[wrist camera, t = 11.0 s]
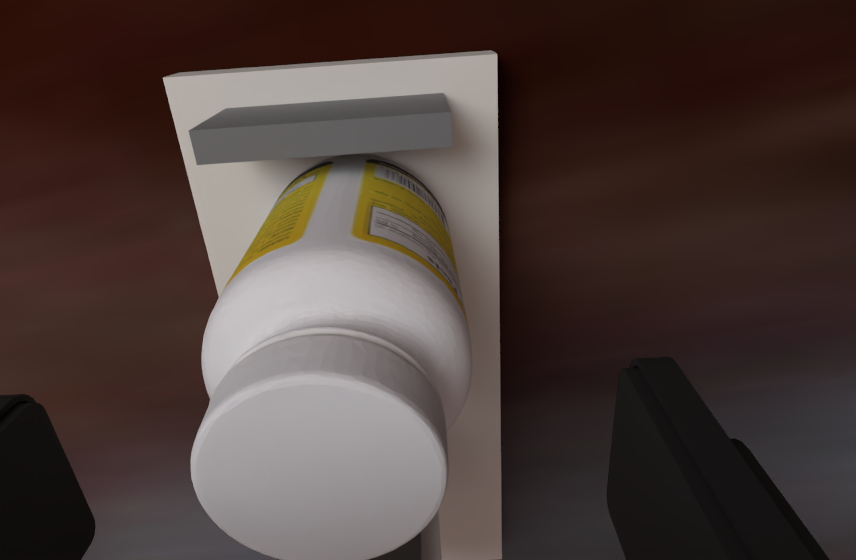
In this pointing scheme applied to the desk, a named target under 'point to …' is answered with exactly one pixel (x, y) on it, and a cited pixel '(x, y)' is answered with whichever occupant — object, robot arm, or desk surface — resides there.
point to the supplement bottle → (335, 369)
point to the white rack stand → (393, 140)
